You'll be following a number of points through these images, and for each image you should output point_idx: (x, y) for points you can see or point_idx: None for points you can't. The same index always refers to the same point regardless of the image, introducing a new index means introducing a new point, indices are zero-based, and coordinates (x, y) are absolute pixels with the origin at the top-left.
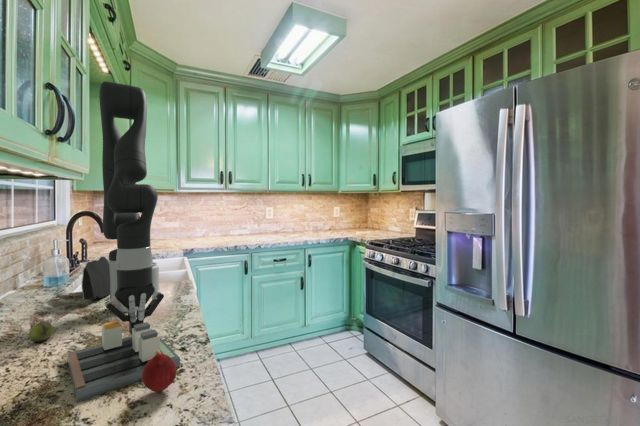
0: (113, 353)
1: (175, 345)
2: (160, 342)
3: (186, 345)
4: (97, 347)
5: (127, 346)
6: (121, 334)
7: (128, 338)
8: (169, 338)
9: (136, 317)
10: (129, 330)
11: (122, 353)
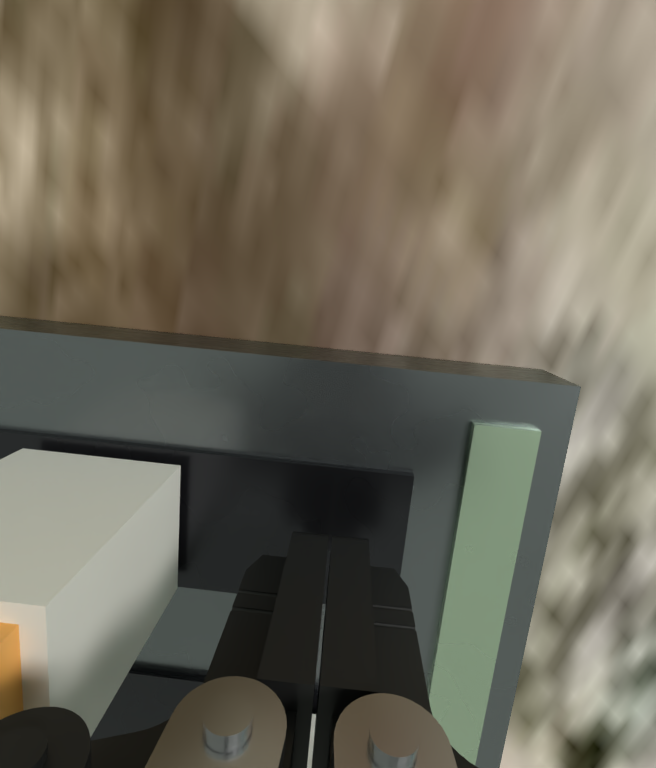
0: None
1: (585, 661)
2: (469, 746)
3: (641, 725)
4: (2, 386)
5: (228, 584)
6: (114, 689)
7: (292, 392)
8: (638, 486)
9: (339, 728)
10: (241, 590)
11: (153, 711)
